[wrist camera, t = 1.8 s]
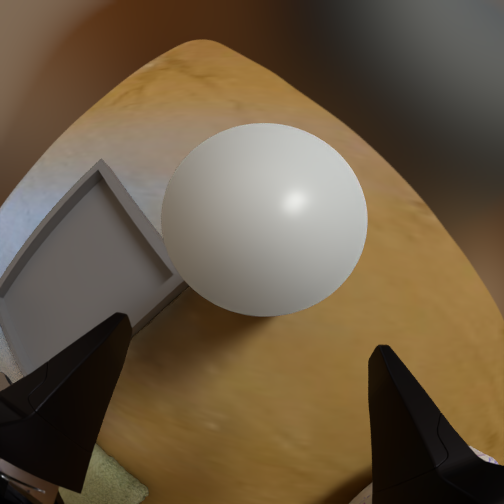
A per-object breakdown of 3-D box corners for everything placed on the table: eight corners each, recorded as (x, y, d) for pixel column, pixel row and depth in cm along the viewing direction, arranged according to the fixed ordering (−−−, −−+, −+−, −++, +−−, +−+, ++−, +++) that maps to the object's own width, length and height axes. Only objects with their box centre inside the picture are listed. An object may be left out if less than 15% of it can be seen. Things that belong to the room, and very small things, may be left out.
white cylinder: (259, 331, 19) (257, 363, 7) (205, 270, 20) (126, 204, 8) (319, 275, 20) (402, 216, 7) (264, 219, 21) (268, 97, 8)
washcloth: (22, 456, 16) (7, 463, 13) (66, 393, 19) (45, 400, 15) (93, 529, 14) (82, 541, 11) (164, 491, 16) (153, 509, 13)
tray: (56, 407, 18) (44, 412, 16) (2, 297, 20) (-10, 295, 18) (195, 279, 20) (189, 275, 18) (110, 168, 23) (101, 158, 21)
